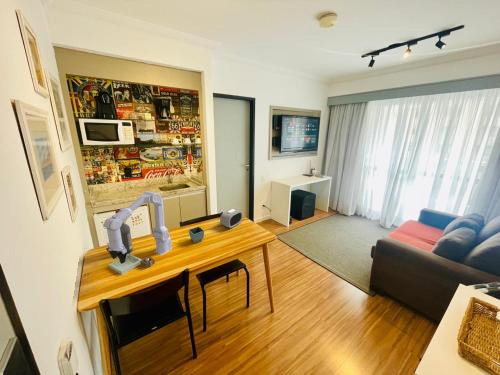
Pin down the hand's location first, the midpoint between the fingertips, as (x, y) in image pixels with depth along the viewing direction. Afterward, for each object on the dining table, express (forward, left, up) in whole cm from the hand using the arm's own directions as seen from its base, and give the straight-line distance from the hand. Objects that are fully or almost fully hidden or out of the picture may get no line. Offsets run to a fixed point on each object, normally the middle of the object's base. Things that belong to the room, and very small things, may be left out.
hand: (118, 260), depth 113 cm
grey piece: (-13, +4, -10) cm, 17 cm away
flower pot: (-50, +11, -10) cm, 52 cm away
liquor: (-15, -21, -10) cm, 28 cm away
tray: (-6, -6, -10) cm, 13 cm away
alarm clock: (-86, +19, -10) cm, 89 cm away
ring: (-13, +4, -10) cm, 17 cm away
